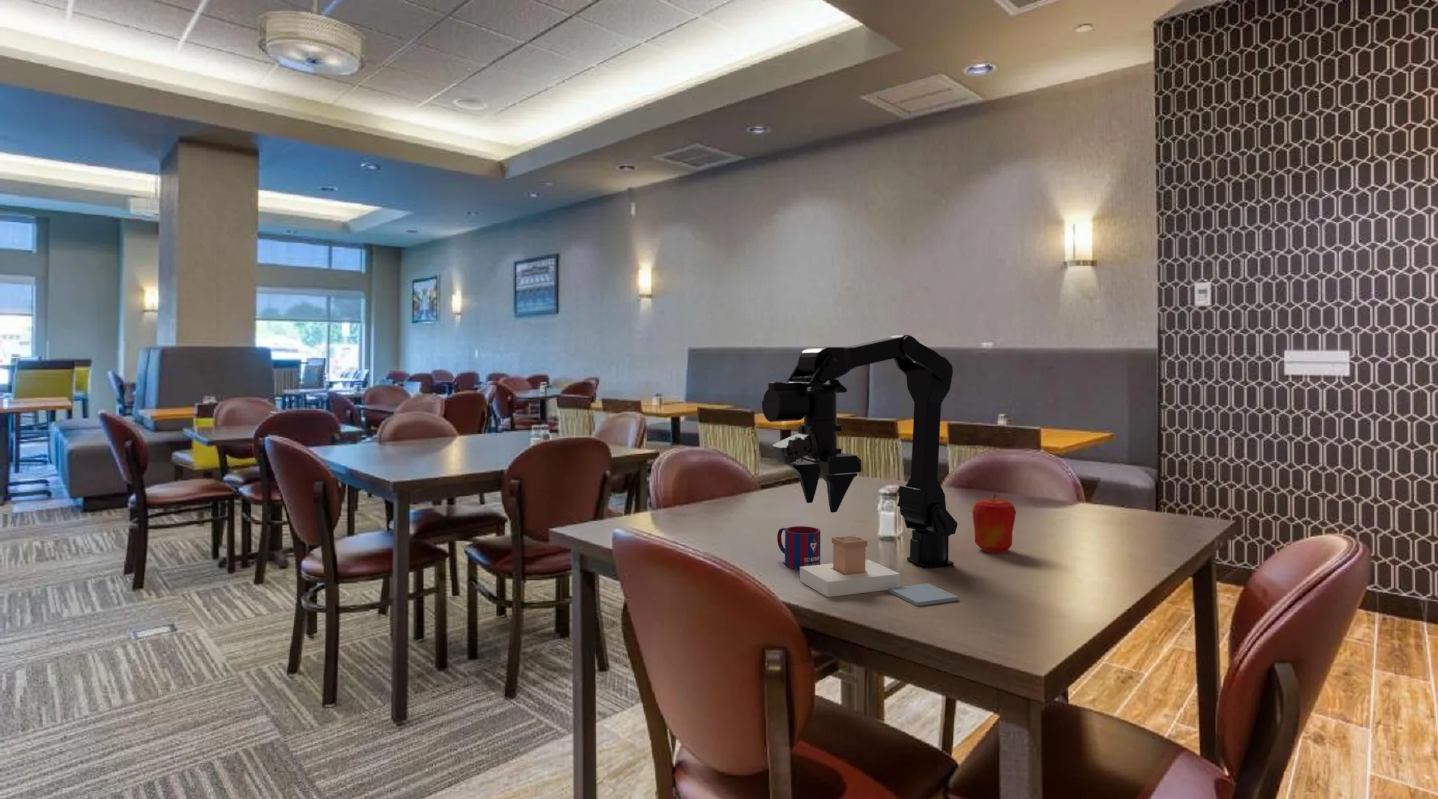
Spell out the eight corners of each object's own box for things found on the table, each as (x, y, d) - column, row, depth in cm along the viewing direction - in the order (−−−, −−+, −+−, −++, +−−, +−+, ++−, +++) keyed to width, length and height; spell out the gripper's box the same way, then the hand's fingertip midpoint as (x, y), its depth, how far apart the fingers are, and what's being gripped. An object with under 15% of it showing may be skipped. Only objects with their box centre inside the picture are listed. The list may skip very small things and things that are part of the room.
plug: (853, 580, 131) (853, 535, 131) (866, 586, 127) (867, 540, 127) (831, 582, 130) (831, 537, 129) (844, 589, 126) (844, 542, 125)
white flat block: (868, 573, 136) (868, 559, 136) (900, 588, 126) (900, 573, 126) (799, 580, 131) (799, 566, 131) (827, 597, 121) (827, 582, 121)
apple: (988, 543, 158) (989, 489, 158) (1024, 551, 152) (1025, 494, 151) (963, 549, 154) (963, 493, 153) (999, 558, 147) (999, 498, 146)
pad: (928, 586, 127) (928, 583, 127) (958, 600, 120) (958, 596, 120) (888, 591, 124) (888, 588, 124) (917, 606, 117) (917, 602, 117)
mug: (799, 571, 137) (799, 535, 136) (767, 559, 145) (767, 525, 145) (827, 566, 140) (827, 531, 140) (794, 555, 149) (795, 521, 148)
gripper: (757, 417, 136) (758, 501, 137) (801, 425, 118) (803, 521, 119) (812, 415, 140) (812, 497, 140) (863, 422, 122) (863, 516, 123)
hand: (821, 507), depth 131 cm, fingers open, 9 cm apart
